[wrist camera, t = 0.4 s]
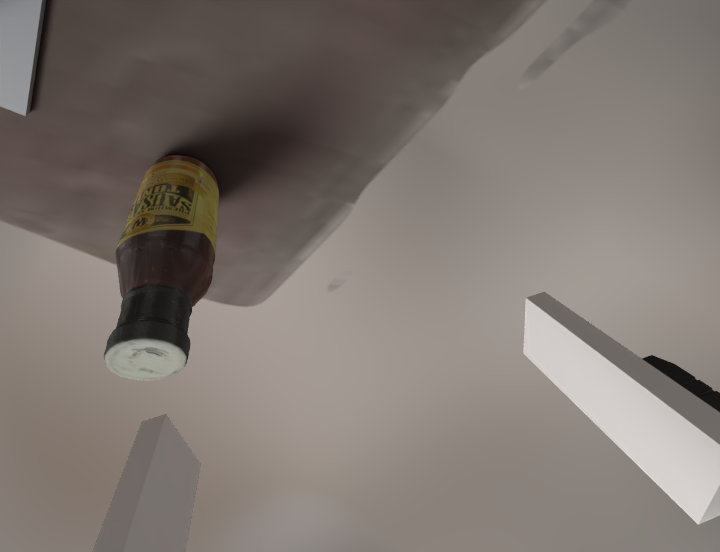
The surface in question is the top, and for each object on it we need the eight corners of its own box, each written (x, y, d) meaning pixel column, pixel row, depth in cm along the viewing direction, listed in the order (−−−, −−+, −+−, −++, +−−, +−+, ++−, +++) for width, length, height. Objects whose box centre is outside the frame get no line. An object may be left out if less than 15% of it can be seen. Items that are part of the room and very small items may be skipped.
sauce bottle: (196, 140, 31) (176, 302, 17) (231, 198, 35) (238, 363, 21) (125, 166, 30) (47, 352, 17) (170, 221, 35) (137, 403, 21)
